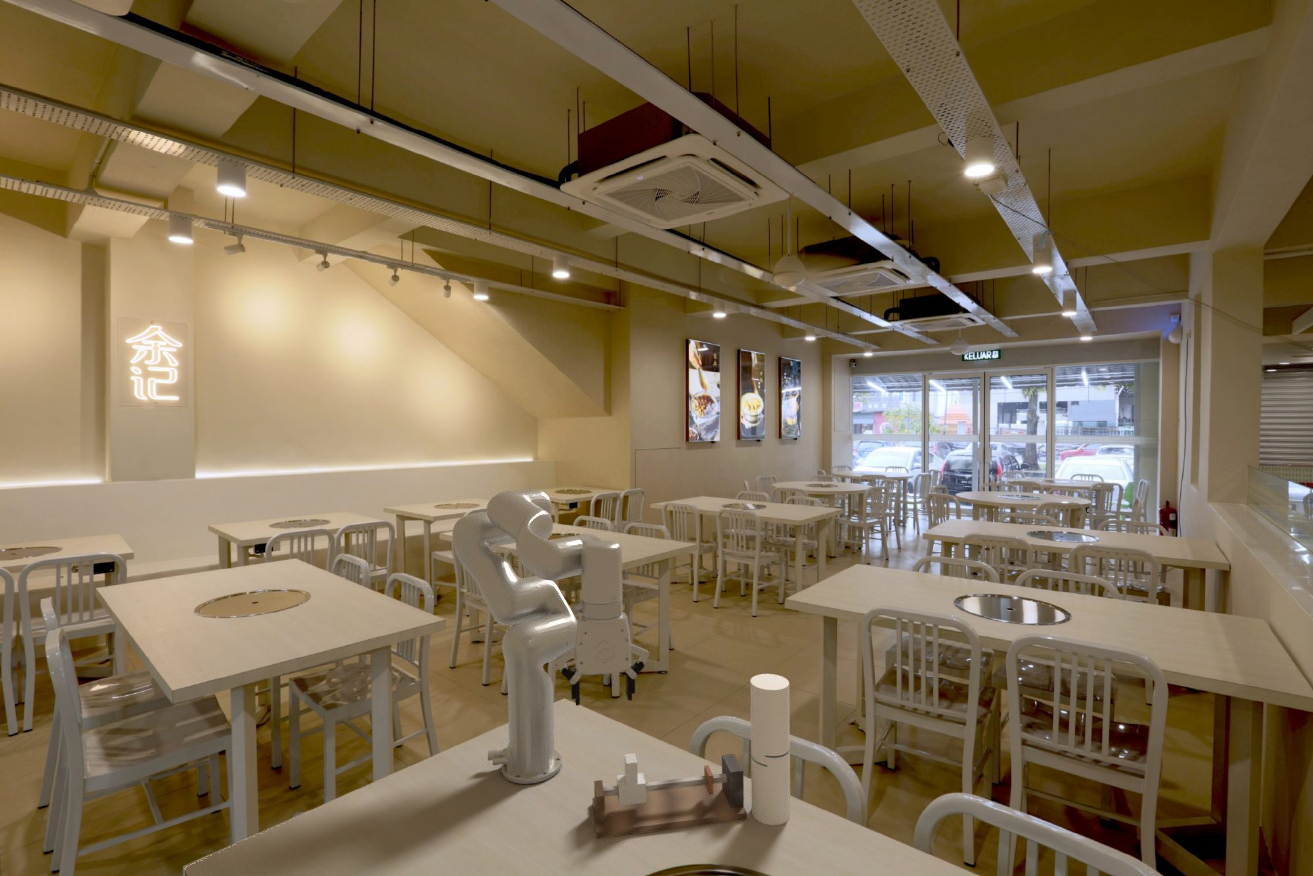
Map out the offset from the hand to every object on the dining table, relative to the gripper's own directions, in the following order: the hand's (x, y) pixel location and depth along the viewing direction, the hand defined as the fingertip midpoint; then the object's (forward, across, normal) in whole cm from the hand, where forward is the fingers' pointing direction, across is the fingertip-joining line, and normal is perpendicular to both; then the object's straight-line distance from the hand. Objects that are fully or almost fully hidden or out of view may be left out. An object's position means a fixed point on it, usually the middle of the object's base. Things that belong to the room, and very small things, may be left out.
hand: (603, 699), depth 112 cm
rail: (+22, +12, 0) cm, 26 cm away
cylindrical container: (+23, +31, -4) cm, 39 cm away
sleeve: (+19, +5, 0) cm, 20 cm away
